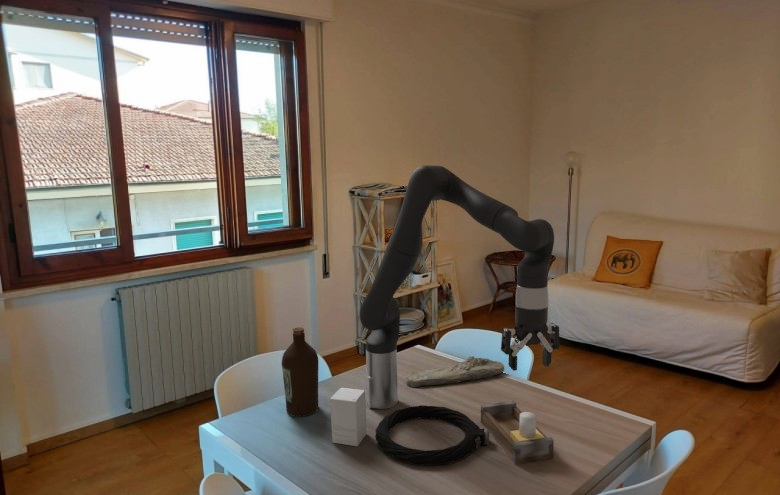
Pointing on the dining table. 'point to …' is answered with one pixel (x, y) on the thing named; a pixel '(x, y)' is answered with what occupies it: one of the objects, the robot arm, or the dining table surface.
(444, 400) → the dining table surface
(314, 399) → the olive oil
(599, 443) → the dining table surface
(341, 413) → the supplement box
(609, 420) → the dining table surface
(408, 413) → the cable lock
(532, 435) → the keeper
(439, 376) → the long grey stone
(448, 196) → the robot arm
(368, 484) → the dining table surface
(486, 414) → the wooden tray
